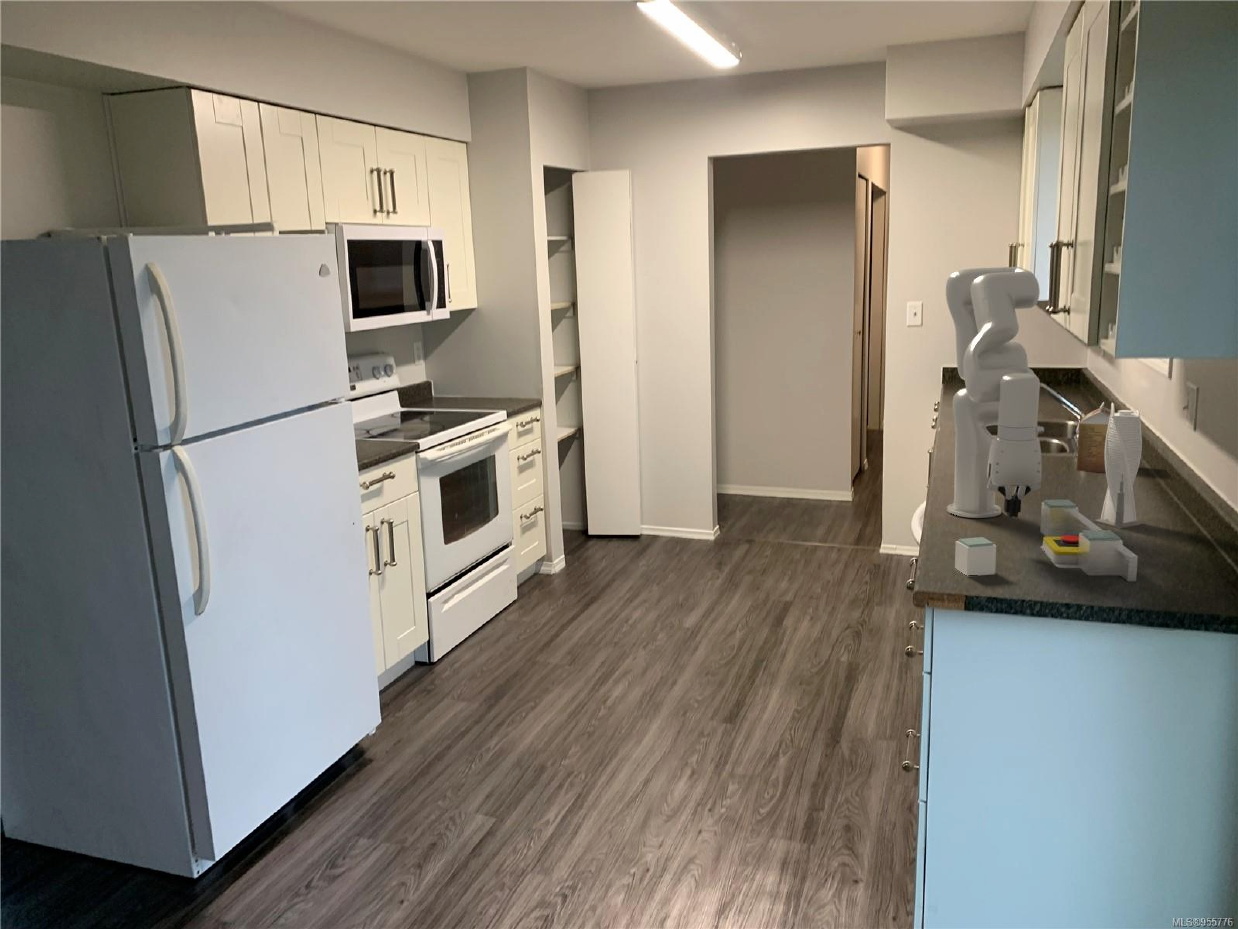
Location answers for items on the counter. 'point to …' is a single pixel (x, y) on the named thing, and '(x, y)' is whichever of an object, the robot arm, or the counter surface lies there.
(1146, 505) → the counter surface
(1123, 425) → the skyscraper
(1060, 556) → the emergency button
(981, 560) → the block
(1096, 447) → the milk carton
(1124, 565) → the rail fixture
